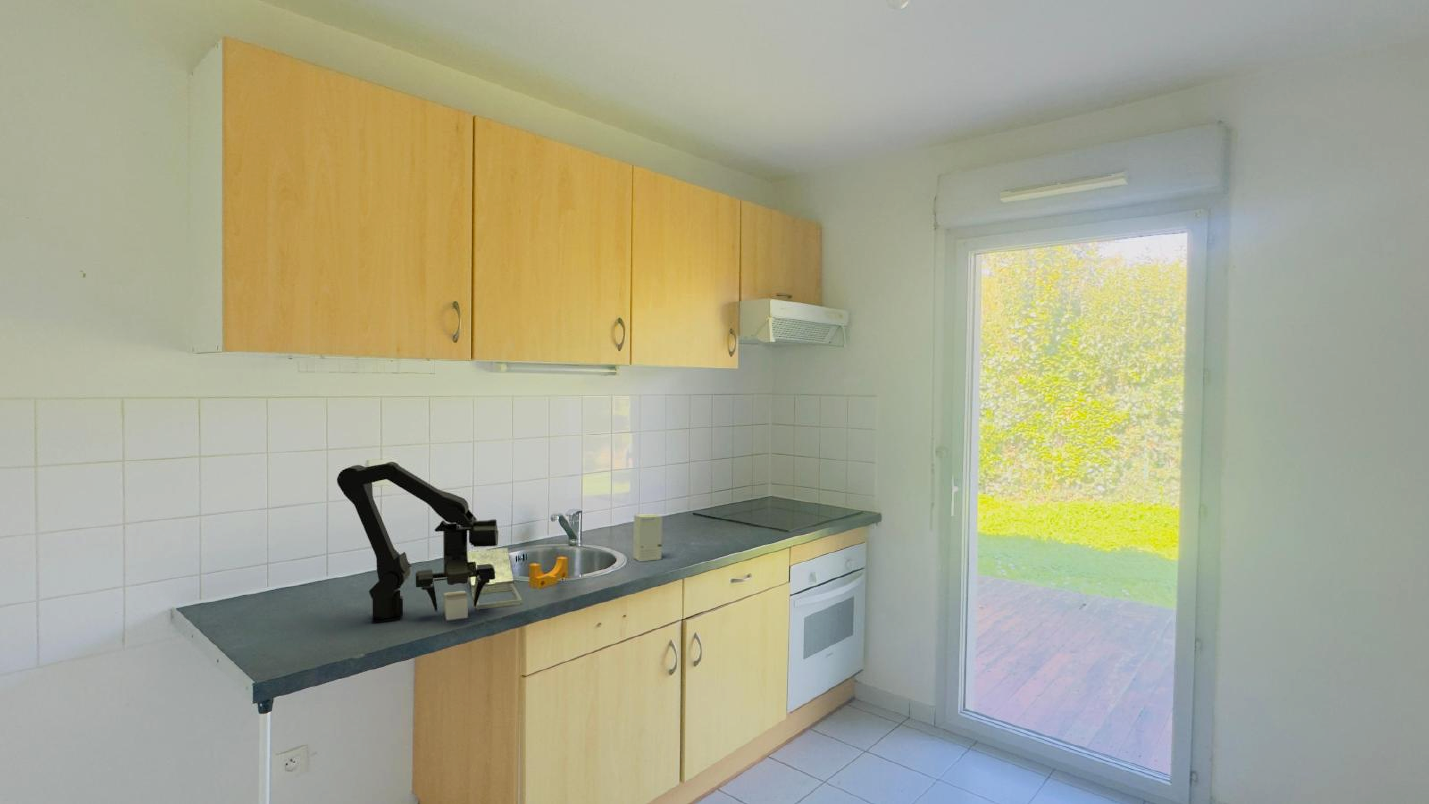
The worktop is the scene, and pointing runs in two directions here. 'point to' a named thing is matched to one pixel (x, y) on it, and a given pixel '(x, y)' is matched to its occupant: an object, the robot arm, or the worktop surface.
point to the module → (455, 605)
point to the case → (502, 575)
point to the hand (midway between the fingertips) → (455, 608)
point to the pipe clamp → (543, 580)
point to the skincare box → (647, 537)
